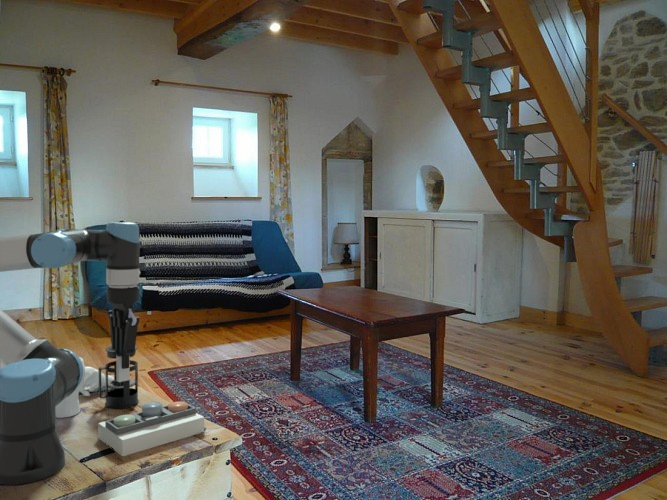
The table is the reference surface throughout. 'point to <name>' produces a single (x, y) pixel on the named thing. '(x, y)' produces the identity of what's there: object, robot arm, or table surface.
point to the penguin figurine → (93, 380)
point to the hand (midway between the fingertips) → (123, 380)
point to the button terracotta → (177, 407)
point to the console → (151, 430)
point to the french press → (119, 385)
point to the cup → (70, 401)
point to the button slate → (152, 409)
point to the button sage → (124, 420)
